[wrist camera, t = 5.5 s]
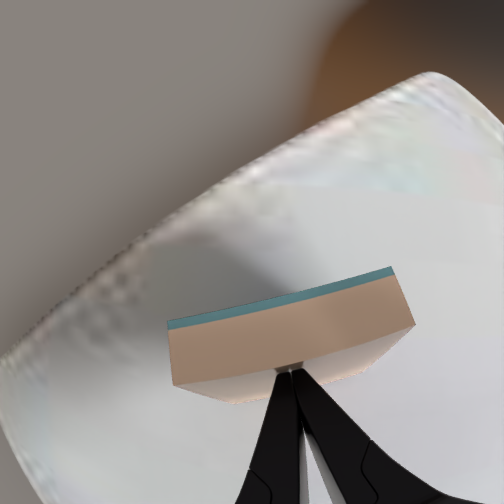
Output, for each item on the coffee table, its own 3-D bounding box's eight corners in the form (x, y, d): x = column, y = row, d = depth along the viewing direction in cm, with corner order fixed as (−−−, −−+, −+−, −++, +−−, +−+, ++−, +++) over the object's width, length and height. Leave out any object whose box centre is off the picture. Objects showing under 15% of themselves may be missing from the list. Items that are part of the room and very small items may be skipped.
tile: (362, 372, 14) (415, 324, 7) (233, 404, 14) (173, 385, 7) (352, 338, 15) (390, 266, 8) (227, 369, 15) (167, 321, 8)
